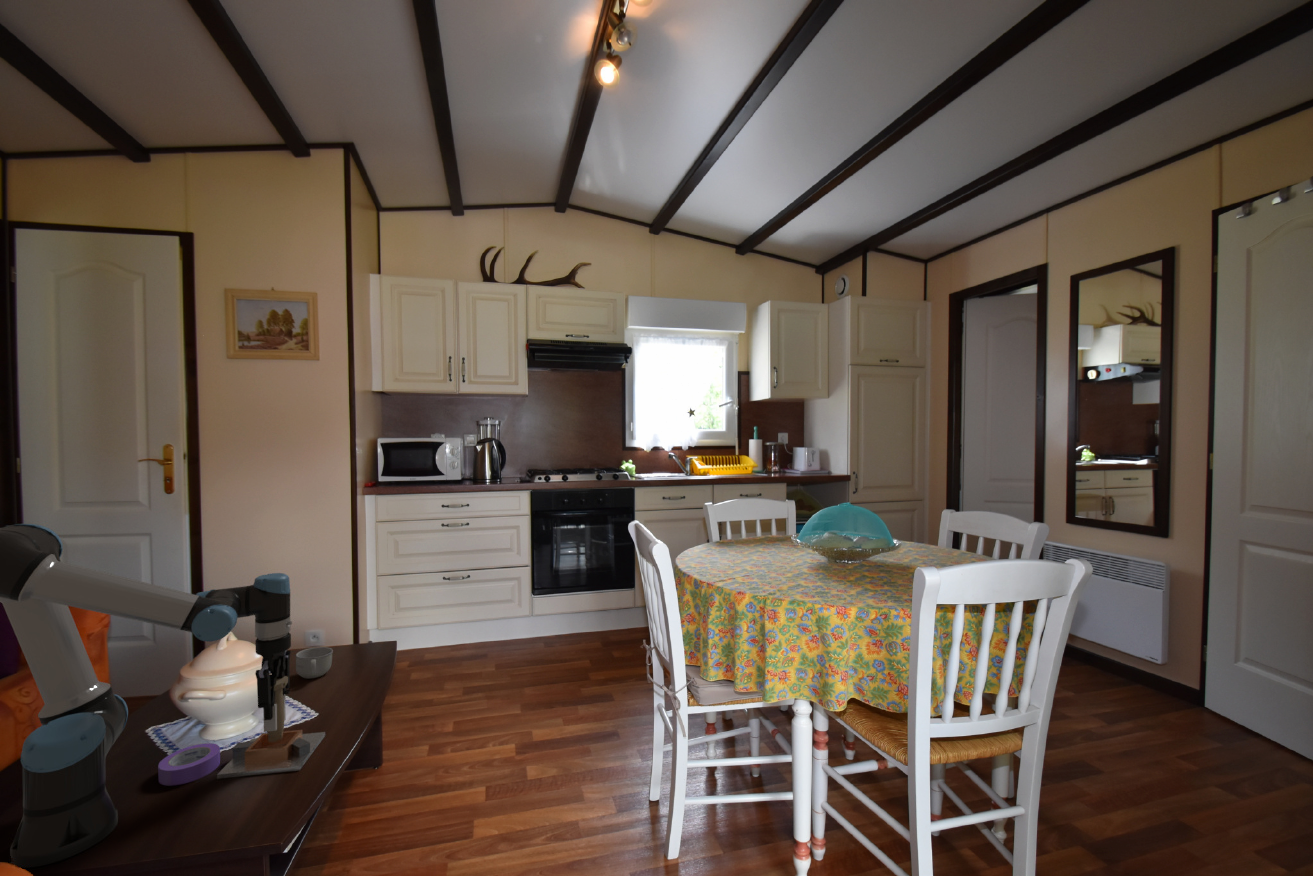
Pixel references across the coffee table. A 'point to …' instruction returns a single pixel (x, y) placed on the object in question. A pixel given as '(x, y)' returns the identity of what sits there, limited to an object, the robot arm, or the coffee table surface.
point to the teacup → (313, 662)
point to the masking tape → (189, 764)
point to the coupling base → (271, 754)
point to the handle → (278, 710)
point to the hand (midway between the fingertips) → (274, 725)
